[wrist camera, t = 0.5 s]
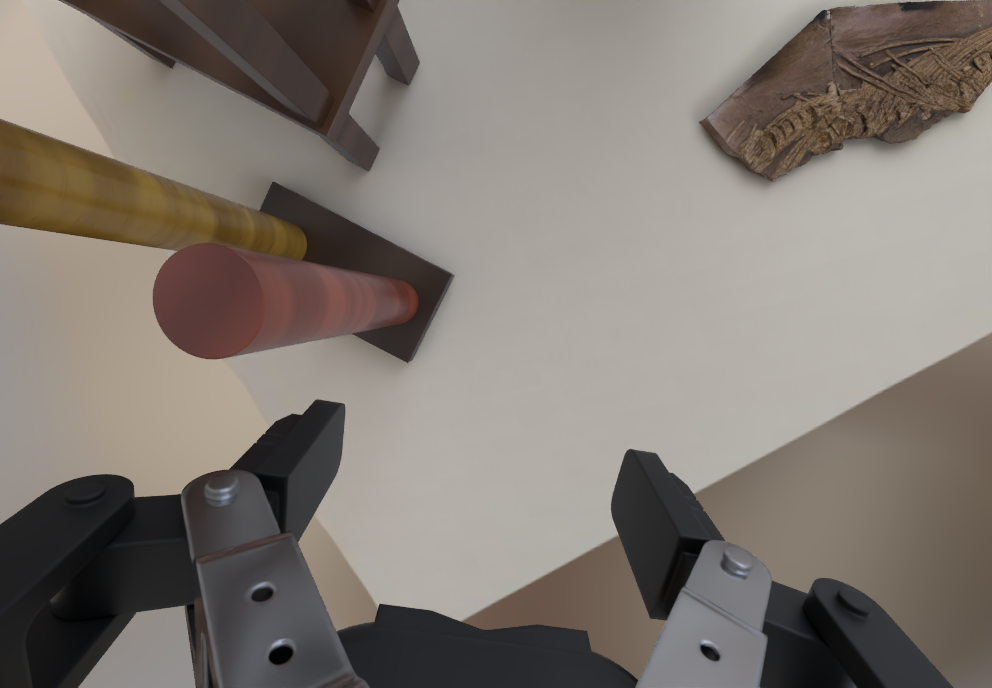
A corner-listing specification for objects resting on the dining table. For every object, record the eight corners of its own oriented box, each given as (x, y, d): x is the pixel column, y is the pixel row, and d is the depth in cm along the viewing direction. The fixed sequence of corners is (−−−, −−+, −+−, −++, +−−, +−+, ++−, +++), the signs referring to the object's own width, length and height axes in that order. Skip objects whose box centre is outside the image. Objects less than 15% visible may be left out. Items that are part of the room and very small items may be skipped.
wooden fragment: (719, 197, 36) (725, 194, 35) (685, 57, 35) (690, 50, 34) (1057, 96, 34) (1074, 90, 33) (1029, -53, 34) (1046, -64, 33)
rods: (454, 275, 38) (349, 229, 14) (412, 360, 38) (242, 456, 15) (282, 185, 38) (-127, -18, 14) (242, 273, 38) (-208, 225, 14)
